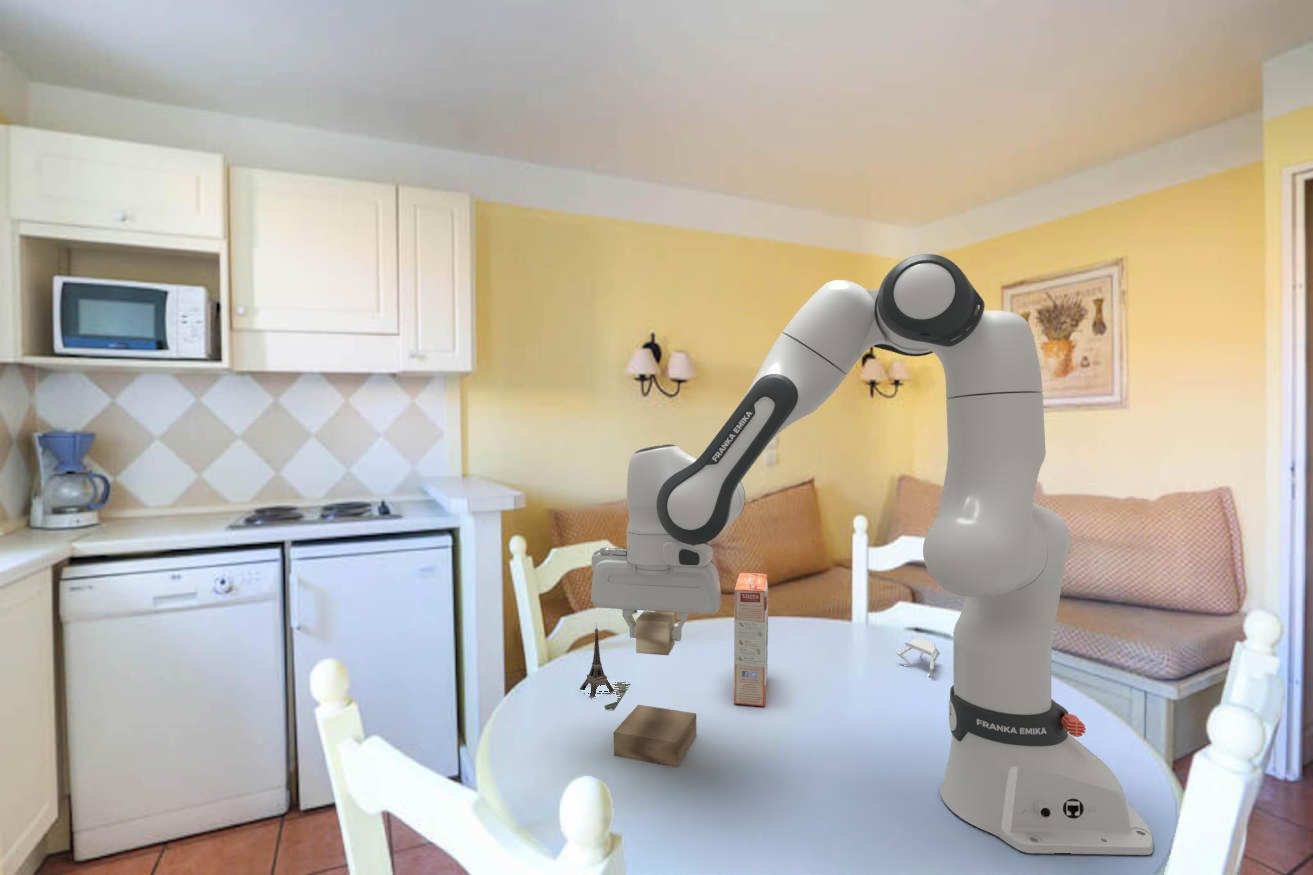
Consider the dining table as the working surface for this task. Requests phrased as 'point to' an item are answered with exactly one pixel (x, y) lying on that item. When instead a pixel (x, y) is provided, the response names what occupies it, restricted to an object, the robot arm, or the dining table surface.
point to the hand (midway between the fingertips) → (655, 638)
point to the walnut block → (655, 735)
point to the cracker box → (750, 639)
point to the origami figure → (921, 646)
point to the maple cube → (654, 633)
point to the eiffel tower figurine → (602, 678)
